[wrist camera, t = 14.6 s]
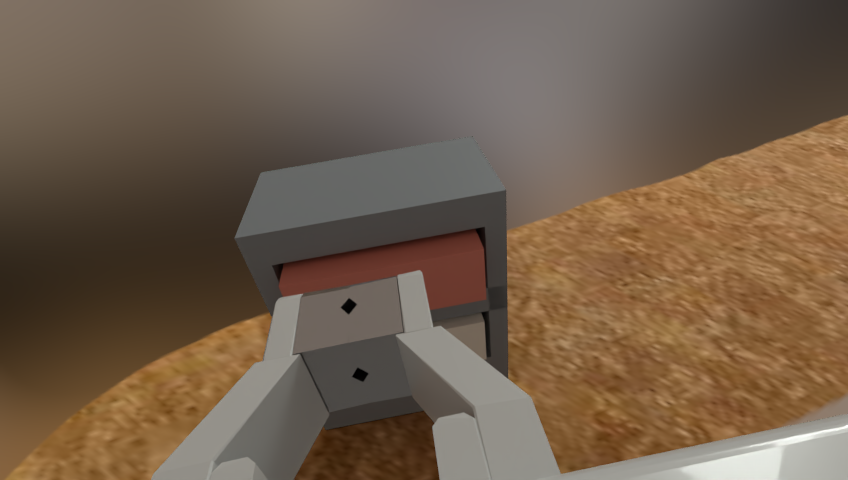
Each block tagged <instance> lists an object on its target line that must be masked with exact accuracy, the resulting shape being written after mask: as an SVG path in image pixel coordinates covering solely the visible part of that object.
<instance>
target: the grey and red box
mask: <svg viewBox="0 0 848 480" xmlns="http://www.w3.org/2000/svg"><path fill="white" fill-rule="evenodd" d="M470 229H476V232H477V234H478V236H479V239H480V241H481V243H482V246H483V248H484V261H485V280H486V300H481V301H476V302H471V303H465V304H460V305H455V306H449V307H444V308H439V309H433V310H430V313H431V318H432V321H437V320H443V319H448V318H453V317H459V316H464V315H469V314H474V313H480V312H481V313H482V316H483V319H484V323H485V340H486V357H487V359H485V361H486V362H487V363H488V364H490V365H491V366H492V367H494V368H495V369H496V370H497V371H499V372H500V373H501V374H502V375H504V376H505V377H506V378H507V379H508V319H507V232H506V189H505V188H504V186H503V184H502V183H501V181H500V179H499V178H498V176H497V175H496V173H495V171H494V170H493V168H492V167H491V165H490V163H489V162H488V160H487V159H486V157H485V155H484V154H483V152H482V151H481V149H480V147H479V146H478V144H477V142H476V141H475V139H474V138H473V136H471V137H465V138H459V139H453V140H448V141H442V142H436V143H430V144H424V145H419V146H413V147H407V148H401V149H396V150H389V151H384V152H378V153H373V154H366V155H361V156H355V157H349V158H344V159H337V160H331V161H326V162H320V163H315V164H308V165H302V166H297V167H291V168H285V169H279V170H273V171H268V172H262V173H261V174H260V177H259V179H258V181H257V184H256V186H255V189H254V191H253V194H252V197H251V199H250V201H249V204H248V207H247V209H246V211H245V214H244V216H243V219H242V221H241V224H240V226H239V229H238V231H237V233H236V236H235V240H236V242H237V245H238V247H239V249H240V251H241V253H242V255H243V257H244V259H245V261H246V264H247V265H248V268H249V270H250V272H251V274H252V276H253V278H254V280H255V282H256V285H257V287H258V289H259V291H260V293H261V295H262V297H263V299H264V301H265V304H266V306H267V308H268V310H269V312H270V314H271V316H273V311H274V307H275V303H276V301H277V300H278V299H279V298H281V297H283V296H282V293H281V291H280V289H279V282H280V278H281V273H282V269H283V264H284V263H287V262H293V261H298V260H304V259H310V258H315V257H321V256H326V255H332V254H337V253H343V252H348V251H354V250H359V249H365V248H370V247H376V246H381V245H387V244H392V243H398V242H403V241H409V240H414V239H420V238H425V237H431V236H436V235H442V234H447V233H453V232H459V231H464V230H470ZM419 411H424V410H423V409H422V408H421V407H420V405H419V404H418V403H417V402H416V401H415V400H414V398H413V397H412V395H411V396H405V397H400V398H394V399H388V400H383V401H377V402H372V403H367V404H363V405H358V406H354V407H350V408H345V409H341V410H337V411H333V412H328V413H329V417H328V418H327V420H326V422H325V424H324V428H325V430H328V429H333V428H338V427H343V426H348V425H353V424H358V423H364V422H369V421H374V420H379V419H384V418H389V417H394V416H399V415H404V414H409V413H414V412H419Z"/></svg>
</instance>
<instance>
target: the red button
mask: <svg viewBox="0 0 848 480" xmlns="http://www.w3.org/2000/svg"><path fill="white" fill-rule="evenodd" d="M418 270H421V272H422V274H423V279H424V284H425V289H426V293H427V298H428V303H429V308H430V310H433V309H439V308H444V307H449V306H455V305H460V304H465V303H471V302H476V301H481V300H486V280H485V261H484V248H483V246H482V243H481V241H480V239H479V236H478V234H477V232H476V229H470V230H464V231H459V232H453V233H447V234H442V235H436V236H431V237H425V238H420V239H414V240H409V241H403V242H398V243H392V244H387V245H381V246H376V247H370V248H365V249H359V250H354V251H348V252H343V253H337V254H332V255H326V256H321V257H315V258H310V259H304V260H298V261H293V262H287V263H284V264H283V269H282V273H281V278H280V282H279V289H280V291H281V293H282V296H283V297H286V296H292V295H298V294H303V293H307V292H313V291H319V290H324V289H330V288H336V287H342V286H347V285H353V284H358V283H363V282H368V281H373V280H378V279H383V278H388V277H393V276H397V277H398V275H400V274H404V273H409V272H413V271H418Z"/></svg>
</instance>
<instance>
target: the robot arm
mask: <svg viewBox="0 0 848 480" xmlns="http://www.w3.org/2000/svg"><path fill="white" fill-rule="evenodd" d="M411 395H412V397H413V398H414V400H415V401H416V402H417V403H418V404H419V405H420V407H421V408H422V409H423V410H424V411H425V413H426V414H427V415H428V416H429V417H430V418H431V420H432V421H433V422H434V423H435V424H434V425H433V426H432V429H433V436H434V443H435V450H436V457H437V464H438V471H439V478H440V480H848V413H847V414H842V415H838V416H833V417H828V418H824V419H819V420H814V421H810V422H805V423H800V424H795V425H790V426H786V427H781V428H776V429H772V430H767V431H762V432H757V433H753V434H748V435H743V436H739V437H734V438H729V439H725V440H720V441H715V442H710V443H706V444H701V445H696V446H692V447H687V448H682V449H677V450H673V451H668V452H663V453H659V454H654V455H649V456H644V457H640V458H635V459H630V460H626V461H621V462H616V463H611V464H607V465H602V466H597V467H593V468H588V469H583V470H578V471H574V472H569V473H564V474H561V473H560V471H559V468H558V466H557V463H556V461H555V458H554V455H553V453H552V450H551V448H550V445H549V442H548V440H547V437H546V435H545V432H544V430H543V427H542V424H541V422H540V419H539V417H538V414H537V411H536V409H535V406H534V404H533V401H532V398H531V397H530V396H529V395H528V394H526V393H525V392H524V391H523V390H521V389H520V388H519V387H518V386H516V385H515V384H514V383H513V382H511V381H510V380H509V379H507V378H506V377H505V376H504V375H502V374H501V373H500V372H499V371H497V370H496V369H495V368H494V367H492V366H491V365H490V364H488V363H487V362H486V361H485V360H483V359H482V358H481V357H480V356H478V355H477V354H476V353H475V352H473V351H472V350H471V349H470V348H468V347H467V346H466V345H464V344H463V343H462V342H461V341H459V340H458V339H457V338H456V337H454V336H453V335H452V334H451V333H449V332H448V331H447V330H445V329H444V328H443V327H442V326H437V327H433V323H432V318H431V313H430V308H429V303H428V298H427V293H426V289H425V284H424V279H423V274H422V272H421V270H418V271H413V272H409V273H404V274H400V275H398V277H397V276H393V277H388V278H383V279H378V280H373V281H368V282H363V283H358V284H353V285H347V286H342V287H336V288H330V289H324V290H319V291H313V292H307V293H303V294H298V295H292V296H286V297H281V298H279V299H278V300H277V301H276V303H275V307H274V311H273V316H272V320H271V325H270V330H269V334H268V339H267V343H266V348H265V352H264V357H263V361H262V362H257V363H254V365H253V366H252V367H251V368H250V369H249V370H248V371H247V372H246V373H245V374H244V375H243V377H242V378H241V379H240V380H239V381H238V382H237V383H236V384H235V385H234V386H233V387H232V389H231V390H230V391H229V392H228V393H227V394H226V395H225V396H224V397H223V398H222V400H221V401H220V402H219V403H218V404H217V405H216V406H215V407H214V408H213V409H212V410H211V412H210V413H209V414H208V415H207V416H206V417H205V418H204V419H203V420H202V421H201V422H200V424H199V425H198V426H197V427H196V428H195V429H194V430H193V431H192V432H191V433H190V435H189V436H188V437H187V438H186V439H185V440H184V441H183V442H182V443H181V444H180V445H179V447H178V448H177V449H176V450H175V451H174V452H173V453H172V454H171V455H170V456H169V457H168V459H167V460H166V461H165V462H164V463H163V464H162V465H161V466H160V467H159V468H158V469H157V471H156V472H155V473H154V474H153V477H152V479H151V480H294V478H295V476H296V474H297V472H298V471H299V469H300V467H301V465H302V463H303V462H304V460H305V458H306V456H307V454H308V453H309V451H310V449H311V447H312V445H313V444H314V442H315V440H316V438H317V436H318V435H319V433H320V431H321V429H322V427H323V426H324V424H325V422H326V420H327V418H328V417H329V413H328V412H333V411H337V410H341V409H345V408H350V407H354V406H358V405H363V404H367V403H372V402H377V401H383V400H388V399H394V398H400V397H405V396H411Z"/></svg>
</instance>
